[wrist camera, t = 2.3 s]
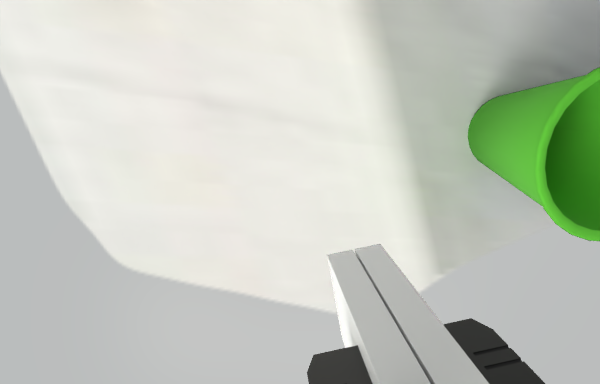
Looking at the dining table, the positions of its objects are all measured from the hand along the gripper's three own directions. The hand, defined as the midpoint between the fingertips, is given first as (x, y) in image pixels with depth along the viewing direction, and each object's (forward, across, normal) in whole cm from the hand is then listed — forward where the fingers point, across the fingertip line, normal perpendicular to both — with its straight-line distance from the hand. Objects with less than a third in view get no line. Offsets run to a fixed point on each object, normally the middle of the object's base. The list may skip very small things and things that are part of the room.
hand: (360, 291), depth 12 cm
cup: (+19, -15, 0) cm, 24 cm away
